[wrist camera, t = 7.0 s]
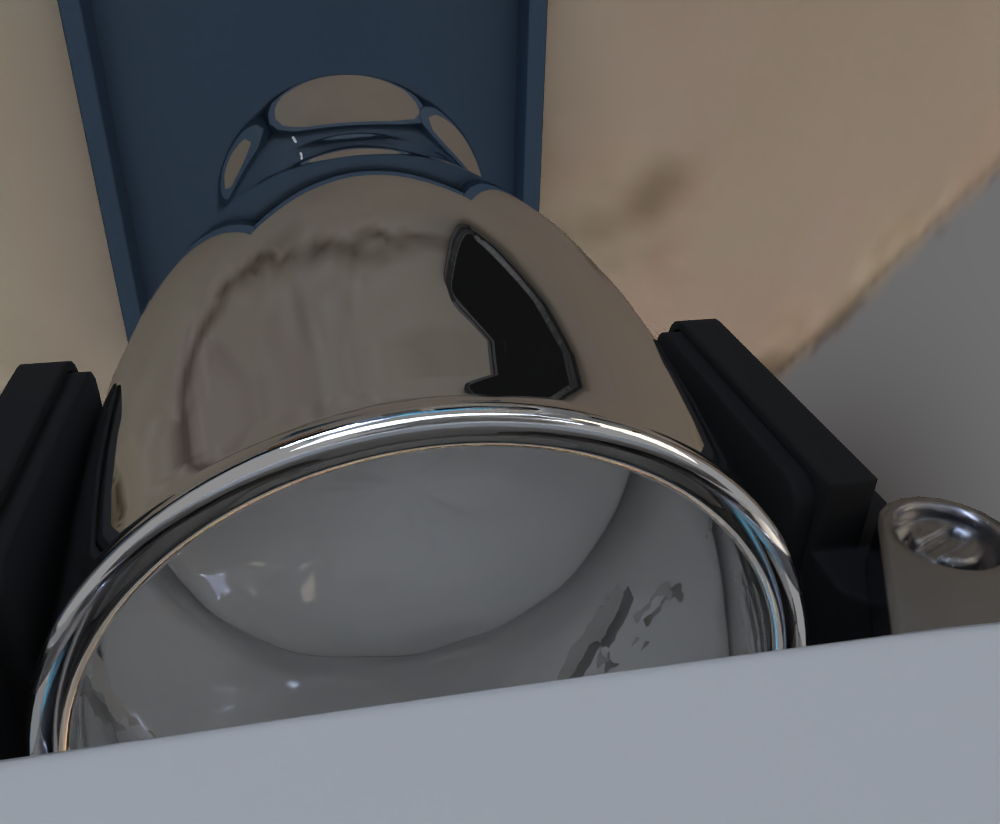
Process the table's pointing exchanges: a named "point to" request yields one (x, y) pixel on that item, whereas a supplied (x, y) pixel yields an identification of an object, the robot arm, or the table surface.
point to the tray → (263, 72)
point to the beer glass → (389, 455)
